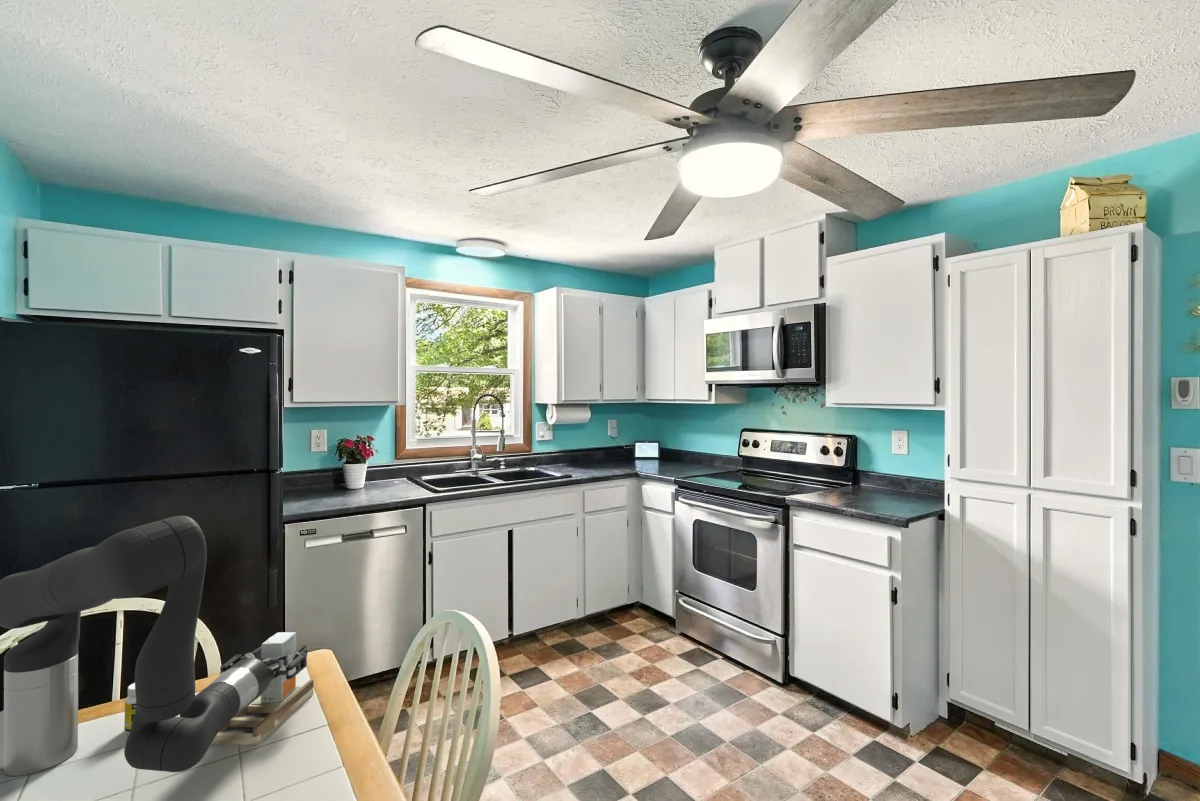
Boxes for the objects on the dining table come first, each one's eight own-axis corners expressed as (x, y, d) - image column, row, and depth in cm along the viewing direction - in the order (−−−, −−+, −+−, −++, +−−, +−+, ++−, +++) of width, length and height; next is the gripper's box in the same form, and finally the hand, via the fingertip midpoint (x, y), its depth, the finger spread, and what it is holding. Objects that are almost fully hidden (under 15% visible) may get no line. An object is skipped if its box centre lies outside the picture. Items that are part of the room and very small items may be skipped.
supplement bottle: (128, 738, 104) (128, 693, 104) (121, 729, 107) (121, 685, 107) (160, 726, 108) (160, 682, 108) (152, 718, 111) (152, 675, 111)
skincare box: (281, 703, 113) (281, 643, 113) (260, 703, 113) (260, 644, 113) (297, 687, 119) (297, 631, 119) (276, 688, 119) (276, 631, 119)
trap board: (204, 743, 103) (204, 726, 103) (268, 692, 120) (268, 678, 121) (256, 745, 102) (257, 728, 102) (313, 694, 120) (313, 680, 120)
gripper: (276, 667, 102) (318, 631, 118) (196, 668, 102) (249, 632, 118) (276, 708, 102) (318, 667, 118) (196, 710, 102) (249, 668, 118)
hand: (284, 650), depth 118 cm, fingers open, 8 cm apart
